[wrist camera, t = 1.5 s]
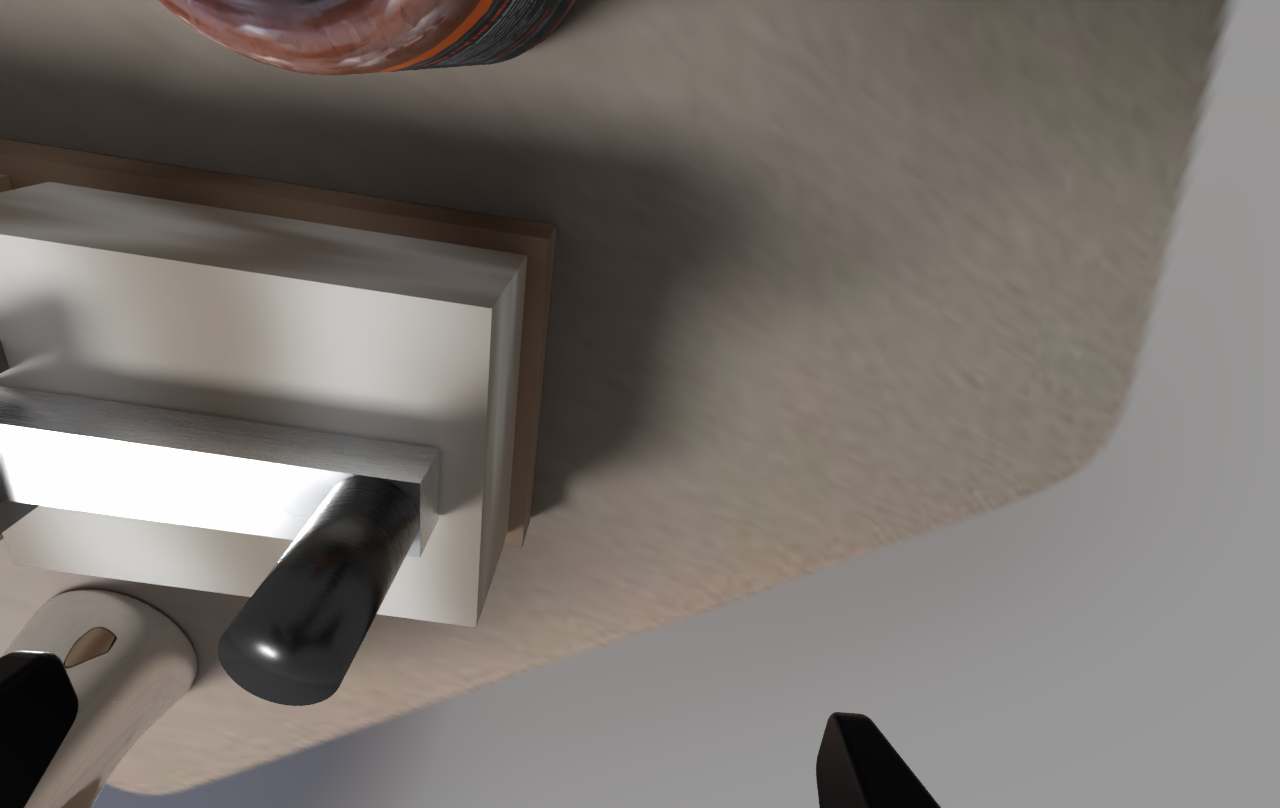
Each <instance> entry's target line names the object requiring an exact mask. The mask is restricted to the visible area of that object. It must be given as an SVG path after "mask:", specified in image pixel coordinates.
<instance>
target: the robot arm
mask: <svg viewBox="0 0 1280 808" xmlns="http://www.w3.org/2000/svg"><path fill="white" fill-rule="evenodd" d="M78 709H79V700H78V696H77V694H76V692H75V690H74V687H73V685H72V683H71V680H70V678H69V676H68V674H67V671H66V669H65V667H64V664H63V662H62V660H61V659H60V657H59V656H57V655H56V654H54V653H51V652H41V651H28V650H21V651H15V652H11V653H9V654H7V655H4V656H2V657H0V808H24V807H25V806H26V804H27V802H28V801H29V799H30V797H31V795H32V794H33V792H34V790H35V789H36V787H37V785H38V783H39V782H40V780H41V778H42V777H43V775H44V773H45V771H46V770H47V768H48V766H49V765H50V763H51V761H52V759H53V758H54V756H55V754H56V753H57V751H58V749H59V748H60V746H61V744H62V742H63V741H64V739H65V737H66V736H67V734H68V732H69V730H70V729H71V727H72V725H73V723H74V721H75V719H76V716H77V714H78ZM816 777H817V787H818V796H819V805H820V808H941V807H940V806H939V805H938V803H937V802H936V801H935V800H934V798H933V797H932V796H931V795H930V793H929V792H928V791H927V790H926V789H925V787H924V786H923V785H922V783H921V782H920V781H919V779H918V778H917V777H916V776H915V775H914V773H913V772H912V771H911V769H910V768H909V767H908V766H907V764H906V763H905V762H904V761H903V759H902V758H901V757H900V755H899V754H898V753H897V752H896V751H895V749H894V748H893V747H892V745H891V744H890V743H889V742H888V740H887V739H886V738H885V737H884V735H883V734H882V733H881V732H880V730H879V729H878V728H877V726H876V725H875V724H874V723H873V721H872V720H871V719H870V718H868V717H867V716H865V715H862V714H855V713H841V712H835V713H833V714H832V715H831V716H830V717H829V719H828V721H827V725H826V729H825V732H824V735H823V739H822V742H821V746H820V750H819V753H818V756H817V764H816Z"/></svg>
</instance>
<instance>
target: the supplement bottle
mask: <svg viewBox="0 0 1280 808" xmlns="http://www.w3.org/2000/svg"><path fill="white" fill-rule="evenodd" d="M158 1H159V2H161V3H162V4H163V5H164V6H165V7H166V8H167V9H168V10H170V11H171V12H172V13H173V14H175V15H176V16H177V17H179V18H180V19H181V20H182V21H184V22H185V23H187V24H188V25H190V26H191V27H192V28H194V29H195V30H197V31H198V32H200V33H201V34H203V35H204V36H206V37H208V38H210V39H212V40H214V41H215V42H217V43H219V44H221V45H223V46H225V47H227V48H229V49H230V50H232V51H234V52H237V53H239V54H241V55H244V56H246V57H249V58H251V59H253V60H256V61H258V62H261V63H264V64H268V65H272V66H275V67H279V68H283V69H287V70H291V71H295V72H301V73H308V74H316V75H347V74H361V73H372V72H388V71H392V72H394V71H403V70H418V69H429V68H446V67H458V66H471V65H486V64H494V63H499V62H503V61H506V60H509V59H512V58H514V57H517V56H519V55H521V54H523V53H524V52H526V51H528V50H529V49H531V48H533V47H534V46H536V45H537V44H539V43H540V42H541V41H543V40H544V39H545V38H546V37H547V36H548V35H549V34H550V33H551V32H552V31H554V30H555V29H556V27H557V26H558V25H559V24H560V22H561V21H562V20H563V18H564V17H565V16H566V14H567V13H568V11H569V10H570V8H571V7H572V5H573V3H574V1H575V0H158Z"/></svg>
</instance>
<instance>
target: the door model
mask: <svg viewBox="0 0 1280 808" xmlns="http://www.w3.org/2000/svg"><path fill="white" fill-rule="evenodd" d="M556 229H557V225H552V224H545V223H539V222H532V221H526V220H520V219H513V218H507V217H500V216H494V215H488V214H481V213H475V212H468V211H462V210H456V209H449V208H443V207H436V206H430V205H423V204H417V203H411V202H404V201H398V200H391V199H385V198H379V197H372V196H366V195H359V194H353V193H347V192H340V191H334V190H327V189H321V188H315V187H308V186H302V185H295V184H289V183H282V182H276V181H270V180H263V179H257V178H250V177H244V176H238V175H231V174H225V173H218V172H212V171H206V170H199V169H193V168H186V167H180V166H174V165H167V164H161V163H154V162H148V161H141V160H135V159H129V158H122V157H116V156H109V155H103V154H97V153H90V152H84V151H77V150H71V149H65V148H58V147H52V146H45V145H39V144H33V143H26V142H20V141H13V140H7V139H0V386H7V387H14V388H21V389H28V390H35V391H42V392H49V393H56V394H63V395H70V396H77V397H84V398H91V399H97V400H104V401H111V402H118V403H125V404H132V405H139V406H146V407H153V408H160V409H167V410H174V411H181V412H188V413H195V414H202V415H209V416H216V417H223V418H230V419H237V420H244V421H251V422H258V423H265V424H272V425H279V426H286V427H293V428H300V429H306V430H313V431H320V432H327V433H334V434H341V435H348V436H355V437H362V438H369V439H376V440H383V441H390V442H397V443H404V444H411V445H418V446H425V447H432V448H439V449H440V467H439V520H438V522H437V524H436V526H435V528H434V530H433V532H432V534H431V536H430V538H429V540H428V543H427V545H426V547H425V549H424V551H423V553H422V555H421V557H420V558H419V557H412V556H406V557H405V559H404V561H403V563H402V565H401V567H400V569H399V571H398V573H397V575H396V577H395V579H394V581H393V583H392V584H391V586H390V588H389V590H388V592H387V594H386V596H385V598H384V600H383V602H382V604H381V606H380V608H379V610H378V612H377V614H379V615H387V616H394V617H402V618H409V619H416V620H424V621H431V622H439V623H446V624H454V625H461V626H468V627H477V624H478V621H479V617H480V614H481V611H482V608H483V605H484V602H485V599H486V596H487V593H488V590H489V587H490V584H491V581H492V578H493V575H494V572H495V569H496V566H497V563H498V560H499V557H500V554H501V551H502V548H503V545H510V546H517V547H522V546H523V542H524V539H525V535H526V532H527V528H528V525H529V522H530V517H531V506H532V495H533V484H534V473H535V462H536V451H537V439H538V428H539V417H540V406H541V395H542V384H543V373H544V362H545V351H546V340H547V329H548V318H549V307H550V296H551V285H552V274H553V263H554V251H555V240H556ZM3 538H4V540H5V543H6V546H7V549H8V551H9V554H10V557H11V560H12V563H13V565H15V566H22V567H30V568H37V569H45V570H52V571H60V572H67V573H75V574H82V575H89V576H97V577H104V578H112V579H119V580H127V581H134V582H141V583H149V584H156V585H164V586H171V587H179V588H186V589H193V590H201V591H208V592H216V593H223V594H231V595H238V596H245V597H252V595H253V594H254V593H255V591H256V590H257V589H258V587H259V586H260V585H261V583H262V582H263V581H264V579H265V578H266V577H267V575H268V574H269V573H270V571H271V570H272V569H273V567H274V566H275V565H276V563H277V562H278V561H279V560H280V558H281V557H282V556H283V554H284V553H285V552H286V550H287V549H288V548H289V546H290V545H291V544H292V542H293V541H294V540H288V539H281V538H274V537H266V536H259V535H252V534H245V533H237V532H230V531H223V530H216V529H208V528H201V527H194V526H186V525H179V524H172V523H165V522H157V521H150V520H143V519H136V518H128V517H121V516H114V515H107V514H99V513H92V512H85V511H78V510H70V509H63V508H56V507H49V506H41V505H34V504H27V503H19V502H12V501H5V500H0V540H1V539H3Z"/></svg>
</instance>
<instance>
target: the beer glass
mask: <svg viewBox="0 0 1280 808" xmlns="http://www.w3.org/2000/svg"><path fill="white" fill-rule="evenodd" d="M21 650H28V651H41V652H51V653H54V654H56V655H57V656H59V657H60V659H61V660H62V662H63V664H64V667H65V669H66V671H67V674H68V676H69V678H70V680H71V683H72V685H73V687H74V690H75V692H76V694H77V696H78V700H79V709H78V714H77V716H76V719H75V721H74V723H73V725H72V727H71V729H70V730H69V732H68V734H67V736H66V737H65V739H64V741H63V742H62V744H61V746H60V748H59V749H58V751H57V753H56V754H55V756H54V758H53V759H52V761H51V763H50V765H49V766H48V768H47V770H46V771H45V773H44V775H43V777H42V778H41V780H40V782H39V783H38V785H37V787H36V789H35V790H34V792H33V794H32V795H31V797H30V799H29V801H28V802H27V804H26V806H25V807H24V808H91V807H92V805H93V804H94V802H95V800H96V798H97V797H98V795H99V793H100V791H101V790H102V788H103V786H104V784H105V783H106V781H107V780H108V779H109V777H110V776H111V774H112V773H113V771H114V770H115V768H116V767H117V765H118V764H119V763H120V761H121V760H122V758H123V757H124V756H125V755H126V754H127V752H128V751H129V750H130V749H131V747H132V746H133V745H134V744H135V743H136V741H137V740H138V739H139V738H140V737H141V736H142V735H143V734H144V733H145V732H146V731H147V730H148V729H149V728H150V727H151V726H152V725H153V724H154V723H155V722H156V721H157V720H158V719H159V718H161V717H162V716H163V715H164V714H165V713H166V712H167V711H168V710H169V709H170V708H171V707H172V706H173V705H174V704H175V703H176V702H177V701H178V700H179V699H180V698H181V697H182V696H183V695H184V694H185V693H186V692H187V691H188V689H189V688H190V687H191V685H192V684H193V682H194V679H195V677H196V674H197V658H196V654H195V652H194V649H193V647H192V645H191V643H190V641H189V639H188V638H187V637H186V635H185V634H184V633H183V631H182V630H181V629H180V628H179V627H178V626H177V625H176V624H175V623H174V622H173V621H172V620H170V619H169V618H168V617H167V616H165V615H164V614H163V613H161V612H160V611H158V610H156V609H155V608H153V607H151V606H150V605H148V604H146V603H144V602H142V601H139V600H137V599H135V598H132V597H129V596H126V595H123V594H119V593H115V592H111V591H105V590H95V589H83V590H73V591H68V592H65V593H62V594H59V595H57V596H55V597H53V598H52V599H50V600H48V601H47V602H46V603H44V604H43V605H42V606H41V607H40V608H39V609H38V610H37V611H36V612H35V614H34V615H33V616H32V617H31V618H30V620H29V621H28V622H27V624H26V625H25V626H24V627H23V629H22V630H21V631H20V633H19V634H18V635H17V637H16V638H15V639H14V640H13V642H12V643H11V644H10V646H9V647H8V648H7V650H6V651H5V652H4V653H3V654H2V656H4V655H7V654H9V653H11V652H15V651H21ZM2 656H1V657H2Z"/></svg>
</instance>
